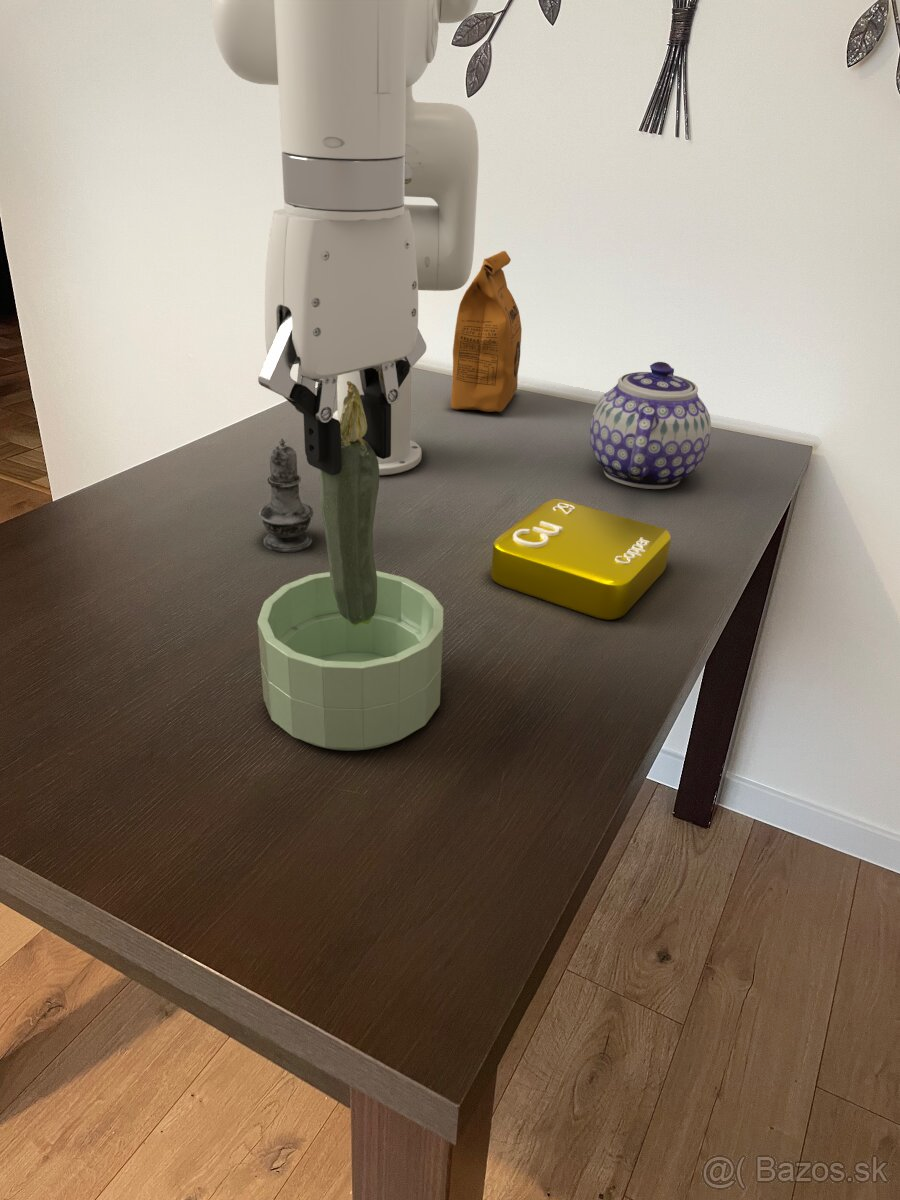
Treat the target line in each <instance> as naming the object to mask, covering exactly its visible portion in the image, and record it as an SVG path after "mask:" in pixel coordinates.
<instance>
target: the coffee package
mask: <svg viewBox="0 0 900 1200" xmlns="http://www.w3.org/2000/svg"><path fill="white" fill-rule="evenodd" d="M511 260H512V259H511V257H510V256H509V254H508V253H507V251H506V250H502V251H500V252H498V253H495V254H493V255H491V256H489V257H486V258H483V262H482V265H481V267H480V270H479V271H478V273H477V275H476V276H474V278H473V280H472V281H471V283H470V285H469V286H468V287H467V289H466V290H465V292H464V294H463V296H462V298H461V300H460V302H459V306H458V310H457V316H456V322H455V328H454V329H455V330H454V337H453V345H452V383H451V384H452V385H451V397H450V408H451V409H453V410H457V411H458V410H471V411H474V410H477V411H481V412H485V413H488V412H489V413H491V412H492V413H493V412H499V413H500V412H503V411H504V410H505V408H506V407H507V405H508V404H509V403H510V402H511V400H513V397H514V395H515V393H516V391H517V389H518V375H519V367H520V360H521V346H522V344H521V343H522V323H521V316H520V311H519V308H518V305H517V303H516V300H515V298H514V296H513V294H512V293H511V291H510V289H509V288H508V285H507V279H506V275H505V273H504V270H503V268H504V267H506V266H508V265H509V264H510V263H511Z"/></svg>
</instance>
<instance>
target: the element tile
mask: <svg viewBox="0 0 900 1200" xmlns="http://www.w3.org/2000/svg"><path fill="white" fill-rule="evenodd" d="M671 539H672V537H671V533H670V532H669V531H668V530H667V529H665V528H663V527H660V526H656V525H653V524H649V523H646V522H643V521H638V520H635V519H632V518H628V517H625V516H621V515H618V514H614V513H611V512H607V511H604V510H600V509H596V508H593V507H590V506H587V505H582V504H579V503H576V502H571V501H569V500H563V499H559V498H553V499H550V500H547V501H544V502H543V503H542V504H541V505H539V506H538V507H536V508H535V509H534V510H532V511H531V512H530V513H528V514H527V515H526V516H524V517H523V518H522V519H520V520H519V521H518V522H517V523H515V524H514V525H513V526H511V527H510V528H508V529H507V530H506V531H504V532H503V533H502V534H500V535H499V536H498V537H497V538H495V540H494V541H493V545H492V557H491V571H490V572H491V573H490V576H491V578H492V581H494V582H495V583H496V584H498V585H499V586H502V587H505V588H507V589H510V590H513V591H517V592H519V593H523V594H525V595H528V596H531V597H534V598H537V599H540V600H542V601H545V602H548V603H551V604H554V605H557V606H560V607H563V608H566V609H570V610H572V611H575V612H578V613H581V614H584V615H587V616H590V617H593V618H597V619H601V620H608V621H612V620H617V619H621V618H622V617H623V616H625V615H626V614H627V613H628V611H629V610H630V609H631V608H632V607H633V606H634V605H635V604H636V603H637V602H638V601H639V600H640V599H641V597H642V596H643V595H644V594H645V593H646V592H647V590H648V589H650V587H651V586H652V585H653V584H654V583H655V582H656V581H657V579H658V578H659V577H661V576H662V574H663V573H664V572H665V570H666V568H667V562H668V556H669V551H670V544H671V541H672V540H671Z"/></svg>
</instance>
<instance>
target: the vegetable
mask: <svg viewBox="0 0 900 1200" xmlns="http://www.w3.org/2000/svg"><path fill="white" fill-rule="evenodd" d="M347 385H348V390H347V392H348V393H347V396H346V397H345V399H344V401H343V409H342V414H341V417H340V425H341V465H342V469H341V471H340V473H339V474H336V475H333V476H332V475H330V474H328V473H326V472H324V471H322V470H320V469H319V504H320V505H319V506H320V511H321V516H322V520H323V526H324V533H325V541H326V550H327V557H328V570H329V571H328V572H330V578H331V584H332V589H333V592H334V596H335V599H336V601H337V607H338V609H339V611H340V614H341V615H342V616H343V617H344V618H345V619H348V620H349V621H350V622H351V624H353V626H354V627H356V625H360V624H364V623H365V624H369V623H370V621H371V617H372V616H373V615H374V613H375V608H376V604H377V574H376V571H377V568H376V562H375V558H374V557H375V555H374V522H375V514H376V508H377V499H378V494H379V487H380V475H379V464H378V460H377V457H376V454H375V452H374V450H373V449H372V447H371V446H370V445H369V444H368V443H367V442H366V441H365V440H363V438H362V437H363V436H364V435H365V434H366V431H367V422H366V417H365V413H364V409H363V405H362V402H361V399H360V393H359V390H358V389H357V387H356V385H354V384H353V383H351V382H350V381H348V382H347Z"/></svg>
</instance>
